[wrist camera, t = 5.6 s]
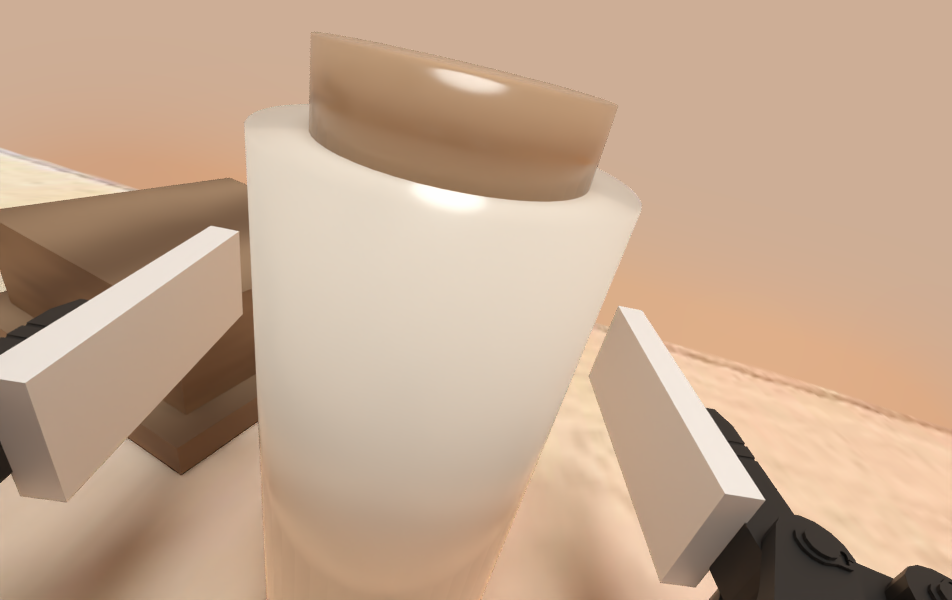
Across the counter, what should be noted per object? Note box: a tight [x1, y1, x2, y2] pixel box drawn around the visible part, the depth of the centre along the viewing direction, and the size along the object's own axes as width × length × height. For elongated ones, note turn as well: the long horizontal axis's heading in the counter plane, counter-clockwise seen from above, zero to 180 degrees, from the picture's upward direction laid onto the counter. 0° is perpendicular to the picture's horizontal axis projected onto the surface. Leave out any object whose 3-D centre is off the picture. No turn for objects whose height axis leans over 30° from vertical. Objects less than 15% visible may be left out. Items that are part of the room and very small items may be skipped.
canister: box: [244, 32, 642, 600], centre depth 10 cm, size 6×6×13 cm
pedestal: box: [0, 178, 258, 474], centre depth 20 cm, size 12×12×5 cm
